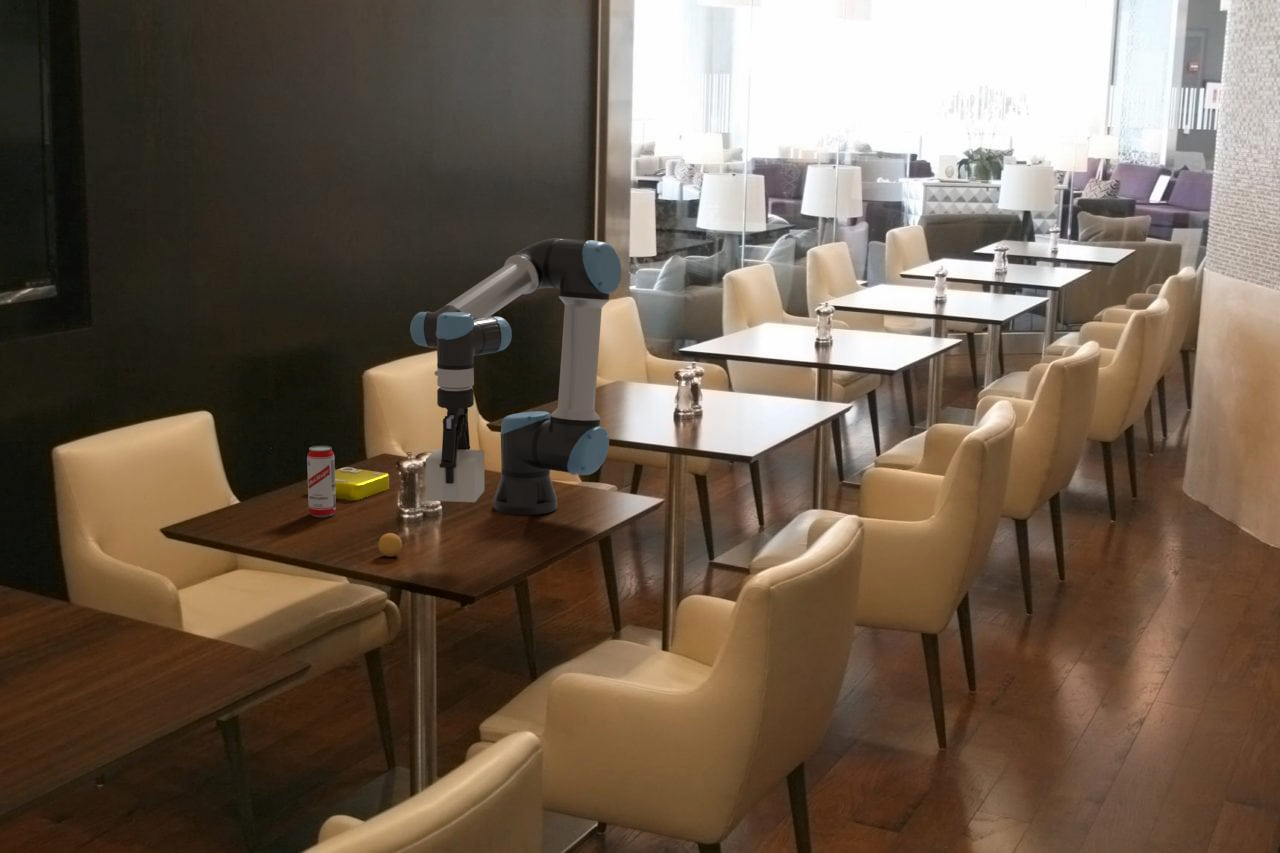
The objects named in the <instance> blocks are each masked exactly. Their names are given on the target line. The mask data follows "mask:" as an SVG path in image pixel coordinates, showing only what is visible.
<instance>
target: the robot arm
mask: <svg viewBox="0 0 1280 853" xmlns="http://www.w3.org/2000/svg"><path fill="white" fill-rule="evenodd" d="M621 264H622V263H621V260H620V257H619V255H618V253H617V251H616V249H615V248H614V247H613V245H610V244H609V243H607V242H604V241H598V240H593V239H590V240H587V239H570V238H559V237H555V238H547V239H543V240H539V241H538V242H535V243H532V244H531V245H528V246H526V247H524V248H522V249H521V250H519V251H517V252H515V253H514V254H513V255H510V256H509V257H508V258H507V259H506V260H505V261H504V265H503V267H501V268H499V269H498V270H496V271H495V272H493V273H492V274H490V275H489V276H487V277H485V278H484V279H483V280H481V281H480V282H479V283H477V284H476V285H473V286H472V287H471V288H469V289H468V290H466V291H465V292H464V293H462V294H460V295H459V296H458V297H456V298H454V299H453V300H452V301H450V302H448V303H447V304H446V305H444V306H442V307H441V308H439V309H438V310H436V311H433V312H431V311H420V312H417V313H416V314H415V315H414V316H413V318H412V320H411V322H410V328H409V333H410V335H411V336H410V337H411V339H412V341H413V342H414V343H415V344H416V345H418V346H422V347H426V348H429V349H432V348H433V349H436V358H437V359H436V367H437V370H435V371H434V376H437V377H436V378H437V379H436V380H437V382H436V384H437V386H438V387H439V388H437V391H436V393H437V394H436V395H437V397H436V398H437V399H436V401H437V402H436V403H437V406H438V407H439V408H441V409H446V410H447V411H446V415H445V416H444V418H443V419H442V441H441V442H442V444H441V445H442V446H441V449H442V459H441V464H440V468H444V498H453V499H457V498H458V493H457V467H456V460H457V450H458V449H463V450H471V445H470V444H471V442H470V441H471V440H470V430H469V412H468V411H469V408H472V407H473V406H474V404H475V401H474V400H475V398H474V397H475V392H474V391H475V390H474V389H473V388H472V387H474V385H475V378H474V377H475V375H474V374H475V373H474V372H475V370H474V369H475V368H474V357H476V356H481V355H486V354H487V355H488V354H496V353H498V352H500V351H504V350H506V349H507V347H509V346H510V344H511V341H512V337H513V334H512V327H511V325H510V324H509V322H508V321H507V320H506V319H505V318H503V317H501V316H492V315H494V314H495V313H497V312H499V311H500V310H501V309H503V308H504V307H506V306H507V305H509V304H510V303H511V302H513V301H514V300H516V299H517V298H518V297H520V296H521V295H528V294H532V293H534V292H535V291H536V290H540V289H558V298H559V299H560V300H561V301H562V304H564V313H563V326H562V327H563V330H562V341H561V342H562V343H561V355H560V356H561V358H560V371H559V372H560V373H559V386H558V397H557V398H558V399H557V408H556V409H555V410H553V411H552V413H550V412H548V411H541V410H540V411H537V410H536V411H525V412H519V413H517V412H516V413H512V414H509V415H506V416H505V417H503V419H502V420H501V428H500V429H501V430H500V434H499V435H500V459H501V460H500V462H501V463H500V468H501V469H500V470H501V472H500V474H501V475H500V479H499V483H498V485H497V489H496V492H495V495H494V498H493V508H494V510H495V511H497V512H500V513H501V514H507V515H514V516H515V515H516V516H536V515H537V516H538V515H543V514H548V513H552V512H554V511H555V510H557V509H558V497H557V495H556V491H555V488H554V485H553V481H552V479H551V471H555V472H561V473H566V474H567V473H568V474H571V475H580V476H589V475H592V474H594V473H596V472H597V471H598V470H599V469H600V467H601V466H602V465H603V463H604V462H605V460H606V457H607V454H608V452H609V447H610V437H609V435H608V432H607V430H606V428H604V427H602V426H601V416H600V415H599V414H598V412H596V410H595V406H596V394H597V380H598V378H597V377H598V366H599V365H598V364H599V352H600V351H599V350H600V341H601V340H600V338H601V337H600V336H601V324H602V323H601V322H602V311H603V310H602V309H603V307H604V306H605V305H607V304H608V303H609V301H610V294H612V293H614V292H615V291H617V289H618V288H619V284H620V283H621V279H622V265H621ZM447 460H450V461H447Z"/></svg>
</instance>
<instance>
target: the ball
mask: <svg viewBox="0 0 1280 853" xmlns="http://www.w3.org/2000/svg"><path fill="white" fill-rule="evenodd" d="M377 545H378V546H377V548H378V549H379V551H380V553H381V555H384V556H385V557H390V558H392V557H395V556H397V555H398V554H399V553H401V551H402V548H403V542H402V539H401V538H400V536H399V535H397V534H396V533H392V532H388V533H385V534H383V535H382V536H381V537H380V539H379V541H378V544H377Z"/></svg>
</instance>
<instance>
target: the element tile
mask: <svg viewBox="0 0 1280 853" xmlns="http://www.w3.org/2000/svg"><path fill="white" fill-rule="evenodd" d="M387 489H389V490H390V475H389V473H388V472H381V471H374V470H373V471H372V470H368V469H367V470H366V469H359V468H354V467H348V466H346V467H341V468H337V469H335V496H336V499H339V500H344V499H345V500H344V501H353V500H354V501H360V499H361V500H364V499H366V498H365V497H367V498H369V497H368V496H370V497H372V496H371V495H373V496H375V495H378V494H380V493H379V492H381V493H383V492H382V491H384V492H386V491H385V490H387ZM387 491H388V490H387ZM377 493H378V494H377ZM374 494H375V495H374ZM363 498H364V499H363Z"/></svg>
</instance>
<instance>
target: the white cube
mask: <svg viewBox="0 0 1280 853" xmlns="http://www.w3.org/2000/svg"><path fill="white" fill-rule="evenodd" d="M441 459H442V448H435V449H434V451H433V452H432V453H431V454H429V455H428V457H427V458H425V478H426V479H425V482H426V485H425V488H426V489H425V490H426V494H425V495H426V496H425V497H426V498H425V499H426V501H432V502H460V503H461V502H462V503H476V502H477V501H478V500H479V498H480V497H481V496H482V494H484V492H485V450H484V449H481V450H480V449H470V450H463V449H458V450H457V460H456V467H457V493H458V498H457V499H453V498H444V468H440V464H441ZM447 461H450V460H447Z"/></svg>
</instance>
